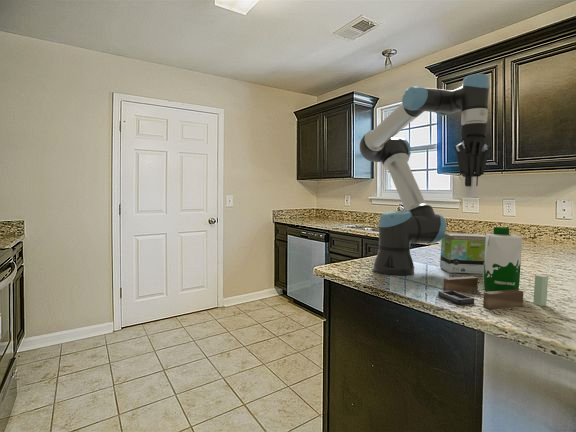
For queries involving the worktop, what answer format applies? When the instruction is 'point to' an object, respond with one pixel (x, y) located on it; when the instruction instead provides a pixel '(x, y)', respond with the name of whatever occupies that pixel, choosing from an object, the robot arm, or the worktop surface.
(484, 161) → the robot arm
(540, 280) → the gate
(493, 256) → the soya milk
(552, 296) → the worktop surface
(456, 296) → the pit tray
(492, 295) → the channel
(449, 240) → the tea box
